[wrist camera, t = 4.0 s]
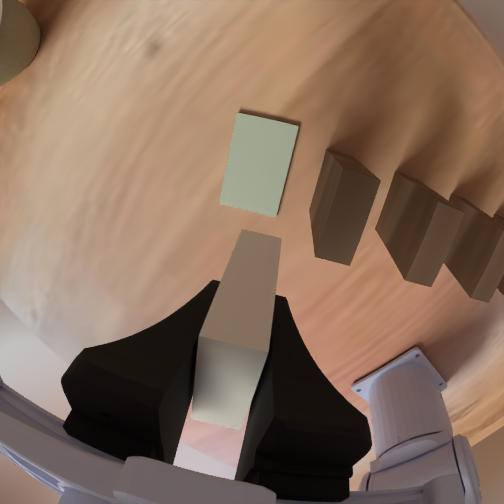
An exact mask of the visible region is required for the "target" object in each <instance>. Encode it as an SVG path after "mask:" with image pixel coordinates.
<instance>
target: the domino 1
mask: <svg viewBox="0 0 504 504" xmlns="http://www.w3.org/2000/svg"><path fill="white" fill-rule="evenodd" d="M280 248H281V238H278V237H274V236H270V235H265V234H261V233H257V232H252V231H248V230H243V229H242V231H241V233H240V235H239V238H238V240H237V243H236V245H235V248H234V250H233V252H232V255H231V257H230V260H229V262H228V265H227V267H226V269H225V272H224V274H223V277H222V279H221V282H220V284H219V287H218V289H217V292H216V294H215V297H214V299H213V301H212V304H211V306H210V309H209V311H208V314H207V316H206V319H205V321H204V324H203V326H202V329H201V331H200V334H199V338H198V348H197V358H196V368H195V379H194V391H193V403H192V416H191V419H194V420H198V421H202V422H205V423H209V424H213V425H218V426H222V427H226V428H231V429H235V430H240V431H241V428H242V426H243V423H244V420H245V417H246V415H247V412H248V409H249V406H250V404H251V401H252V398H253V395H254V393H255V390H256V387H257V384H258V381H259V378H260V375H261V373H262V370H263V367H264V364H265V361H266V358H267V355H268V352H269V344H270V336H271V328H272V320H273V311H274V303H275V294H276V285H277V276H278V267H279V258H280Z"/></svg>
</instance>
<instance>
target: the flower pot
mask: <svg viewBox="0 0 504 504" xmlns="http://www.w3.org/2000/svg"><path fill="white" fill-rule="evenodd" d="M40 38H41V32H40V28H39V26H38V24H37V22H36V20H35V18H34V17H33V15H32V14H31V13H30V11H29V10H28V9H27V8H26V7H25V6H24V5H23V4H22V3H21V2H20V1H18V0H0V86H2V85H4V84H5V83H7V82H8V81H10V80H11V79H13V78H14V77H15V76H17V75H18V74H19V73H20V72H22V71H23V70H24V69H25V68H26V67H27V66H28V65H29V64H30V63H31V61H32V60H33V59H34V57H35V55H36V53H37V50H38V47H39V44H40Z"/></svg>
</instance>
